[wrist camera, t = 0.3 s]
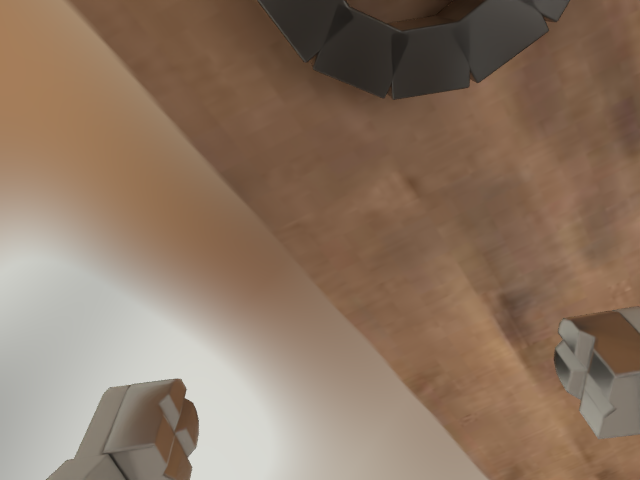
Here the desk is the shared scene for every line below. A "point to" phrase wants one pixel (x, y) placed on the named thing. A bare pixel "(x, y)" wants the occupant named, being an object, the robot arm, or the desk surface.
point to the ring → (412, 42)
